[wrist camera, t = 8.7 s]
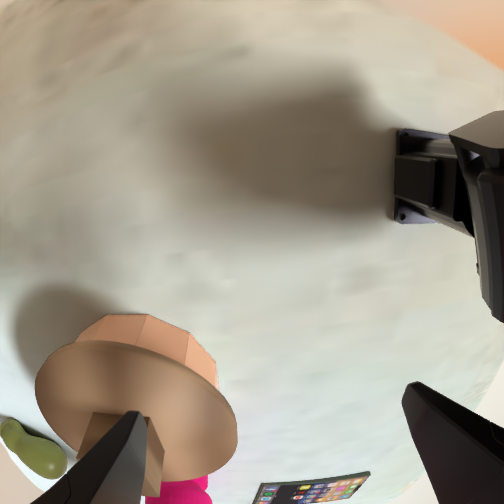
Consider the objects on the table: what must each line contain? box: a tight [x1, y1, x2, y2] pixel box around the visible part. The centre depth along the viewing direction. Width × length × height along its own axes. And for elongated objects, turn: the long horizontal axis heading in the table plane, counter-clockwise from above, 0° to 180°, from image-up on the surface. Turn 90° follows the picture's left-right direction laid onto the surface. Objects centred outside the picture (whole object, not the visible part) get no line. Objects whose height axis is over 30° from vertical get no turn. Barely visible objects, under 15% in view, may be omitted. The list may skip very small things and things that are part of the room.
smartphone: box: [253, 471, 371, 504], centre depth 31 cm, size 8×15×1 cm, turn 81°
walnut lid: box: [35, 340, 237, 497], centre depth 15 cm, size 14×14×5 cm
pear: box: [0, 418, 67, 479], centre depth 23 cm, size 6×5×10 cm
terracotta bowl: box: [75, 314, 220, 392], centre depth 19 cm, size 12×12×5 cm
